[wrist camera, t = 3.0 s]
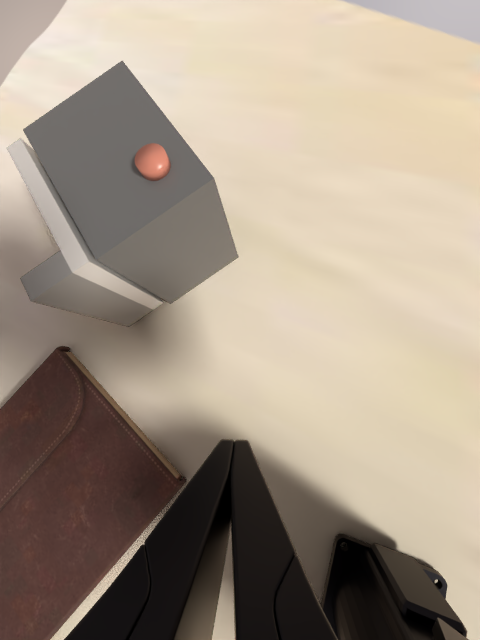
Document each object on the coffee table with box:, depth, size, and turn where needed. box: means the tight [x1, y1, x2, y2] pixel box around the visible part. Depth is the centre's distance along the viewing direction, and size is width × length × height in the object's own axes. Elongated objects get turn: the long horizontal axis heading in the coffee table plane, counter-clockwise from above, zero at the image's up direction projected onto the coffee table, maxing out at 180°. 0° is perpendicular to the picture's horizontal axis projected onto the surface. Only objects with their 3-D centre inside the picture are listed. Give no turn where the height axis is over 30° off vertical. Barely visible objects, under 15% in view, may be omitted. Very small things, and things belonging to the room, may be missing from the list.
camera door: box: [7, 138, 163, 327], centre depth 17 cm, size 10×4×8 cm, turn 34°
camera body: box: [23, 61, 238, 304], centre depth 17 cm, size 11×7×10 cm, turn 34°
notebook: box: [0, 346, 186, 640], centre depth 19 cm, size 15×20×2 cm
